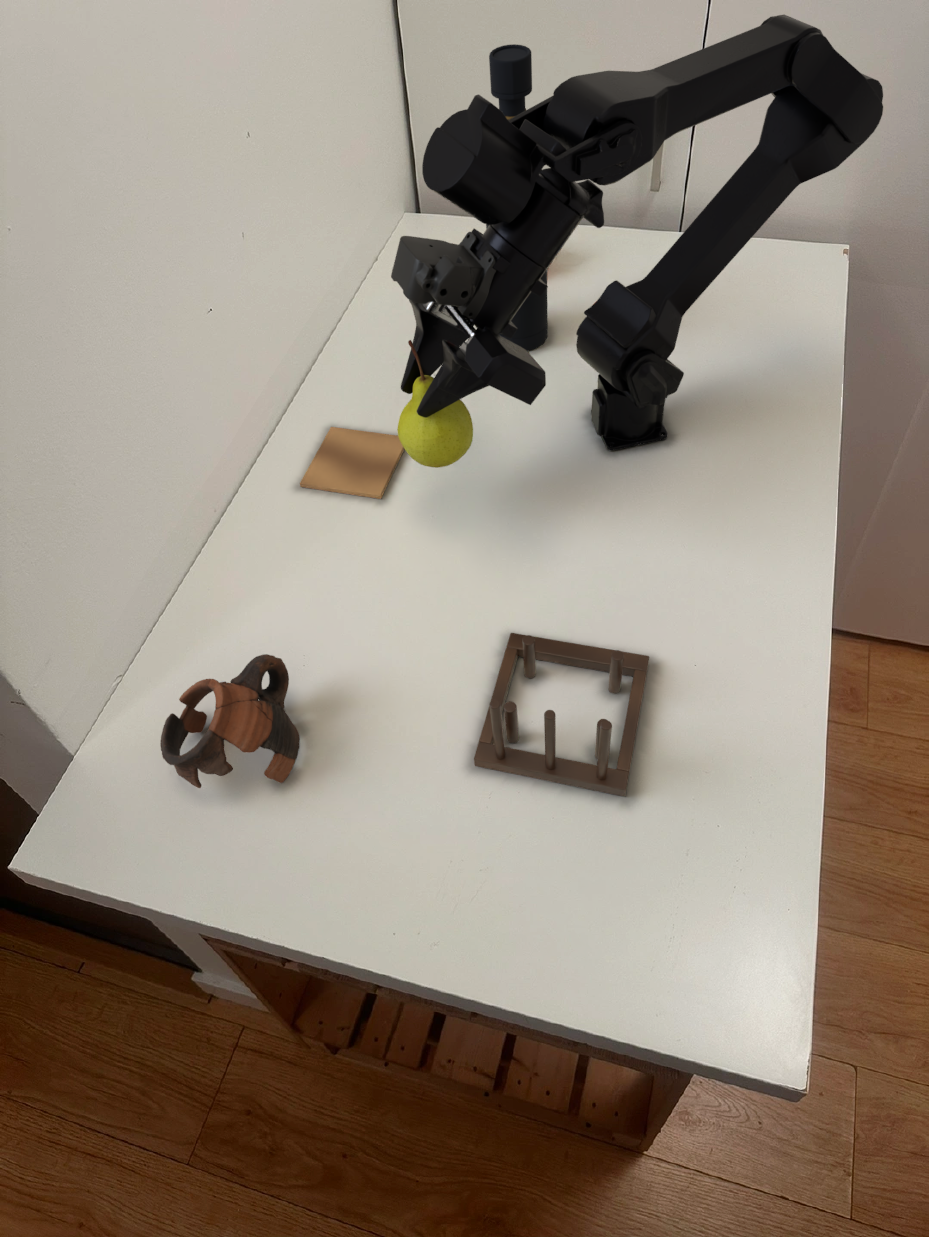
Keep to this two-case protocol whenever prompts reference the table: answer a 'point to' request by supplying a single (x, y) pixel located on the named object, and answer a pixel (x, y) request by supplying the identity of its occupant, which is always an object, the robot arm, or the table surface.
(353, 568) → the table surface
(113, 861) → the table surface
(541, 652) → the rack
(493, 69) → the black bottle
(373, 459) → the mat
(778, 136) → the robot arm
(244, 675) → the broken clay pot
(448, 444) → the fruit
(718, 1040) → the table surface
